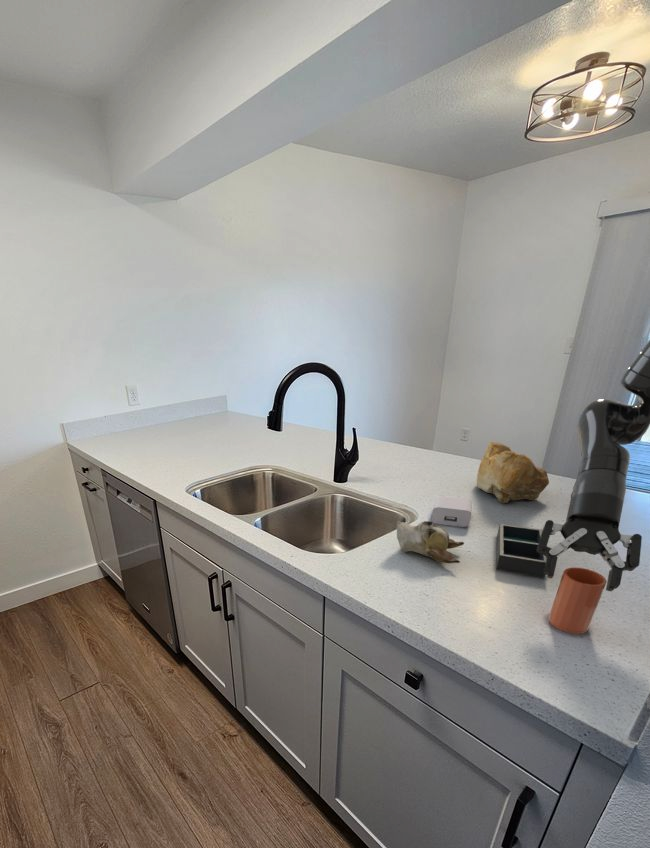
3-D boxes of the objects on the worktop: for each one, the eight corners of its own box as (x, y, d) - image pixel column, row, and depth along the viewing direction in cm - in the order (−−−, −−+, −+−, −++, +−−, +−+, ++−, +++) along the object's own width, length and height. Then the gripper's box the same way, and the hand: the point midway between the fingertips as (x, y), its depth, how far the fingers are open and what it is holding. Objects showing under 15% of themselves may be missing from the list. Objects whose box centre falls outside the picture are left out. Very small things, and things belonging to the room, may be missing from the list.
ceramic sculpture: (403, 506, 105) (470, 520, 99) (397, 537, 110) (461, 552, 103) (393, 524, 97) (465, 540, 91) (387, 557, 102) (456, 574, 95)
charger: (469, 506, 125) (468, 527, 113) (435, 502, 129) (430, 522, 117) (472, 491, 123) (472, 511, 111) (437, 487, 127) (433, 506, 115)
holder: (538, 542, 104) (542, 529, 103) (544, 577, 91) (548, 563, 89) (496, 536, 108) (499, 523, 106) (496, 569, 95) (499, 555, 93)
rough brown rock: (556, 515, 119) (576, 462, 112) (490, 508, 121) (507, 456, 115) (525, 487, 139) (540, 441, 133) (470, 482, 142) (482, 437, 135)
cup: (585, 618, 79) (602, 571, 74) (590, 637, 74) (609, 588, 70) (547, 610, 81) (562, 564, 77) (549, 628, 77) (566, 581, 72)
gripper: (553, 485, 79) (534, 567, 76) (655, 497, 72) (639, 589, 69) (546, 502, 86) (528, 578, 82) (639, 515, 78) (624, 599, 75)
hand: (579, 583), depth 76 cm, fingers open, 8 cm apart
